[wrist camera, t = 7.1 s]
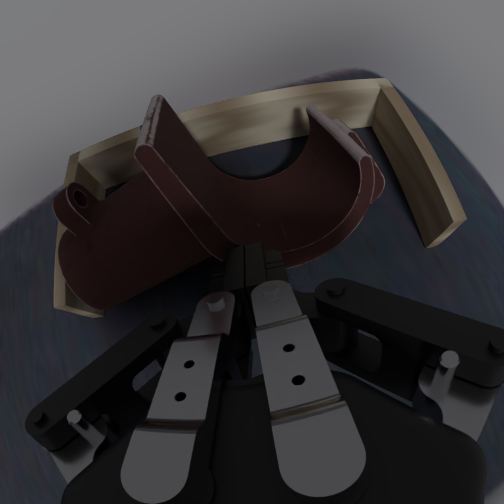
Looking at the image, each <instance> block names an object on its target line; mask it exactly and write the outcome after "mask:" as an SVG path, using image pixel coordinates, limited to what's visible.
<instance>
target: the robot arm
mask: <svg viewBox="0 0 504 504" xmlns="http://www.w3.org/2000/svg"><path fill="white" fill-rule="evenodd" d="M358 329H360V330H362V331H365V332H367V333H370V334H372V335H374V336H376V337H377V338H378V339H379V340H380V341H377V340H375V339H373V338H370V337H368V336H365V335H363V334H361V333H358ZM255 338H257V341H258V347H259V352H260V358H261V363H262V369H263V374H262V375H259V376H256V377H254V378H252V362H253V352H252V349H251V339H255ZM155 359H156V360H157V361H158V363H159V365H160V366H161V368H162V370H161V371H160V372H158V373H157V374H156V375H155V376H154V377H153V378H152V379H150V380H149V381H148V382H147V383H146V384H145V385H143V386H142V387H141V388H140V389H139V390H138V391H135V390H134V389H133V387H132V381H133V379H134V377H135V376H136V375H137V374H138V373H139V372H140V371H142V370H143V369H144V368H145V367H146V366H148V365H149V364H150V363H151V362H152V361H153V360H155ZM325 359H326V360H328V361H329V362H331V363H333V364H335V365H337V366H339V367H341V368H343V369H345V370H347V371H349V372H351V373H353V374H355V375H357V376H359V377H361V378H363V379H365V380H367V381H369V382H371V383H373V384H375V385H377V386H379V387H381V388H383V389H385V390H387V391H390V392H392V393H394V394H396V395H398V396H400V397H402V398H404V399H407V400H409V401H411V402H412V406H413V408H412V407H410V406H408V405H406V404H404V403H402V402H400V401H398V400H396V399H395V398H393V397H391V396H389V395H387V394H385V393H383V392H381V391H379V390H377V389H376V388H374V387H372V386H370V385H368V384H366V383H365V382H363V381H361V380H359V379H357V378H355V377H353V376H351V375H348V374H346V373H342V372H338V371H332V370H330V369H329V367H328V364H327V362H326V360H325ZM503 384H504V329H501V328H498V327H495V326H492V325H489V324H486V323H482V322H479V321H476V320H473V319H470V318H467V317H464V316H461V315H458V314H454V313H451V312H448V311H445V310H442V309H439V308H436V307H433V306H429V305H426V304H423V303H420V302H417V301H414V300H411V299H408V298H404V297H401V296H398V295H395V294H392V293H389V292H386V291H382V290H379V289H376V288H373V287H370V286H367V285H364V284H360V283H357V282H354V281H351V280H348V279H343V278H334V279H329V280H326V281H324V282H322V283H320V284H319V285H318V286H317V287H316V289H315V293H303V292H298V291H296V290H294V289H292V288H291V286H290V284H289V281H288V277H287V273H286V270H285V266H284V262H283V258H282V255H281V253H279V252H278V251H276V250H271V251H266V252H264V251H263V246H262V243H261V242H257V243H252V244H248V245H245V247H244V246H239V247H235V248H230V249H228V251H227V260H225V261H221V262H218V263H217V264H216V265H215V267H214V268H213V270H212V276H211V282H210V287H209V292H208V295H207V296H205V297H204V298H202V299H201V300H200V301H199V303H198V305H197V307H196V310H195V313H194V315H192V316H190V317H187V318H185V319H182V320H180V321H178V320H177V318H176V316H175V315H174V314H173V313H170V312H163V313H159V314H156V315H153V316H152V317H150V318H148V319H147V320H146V321H144V322H143V323H142V324H141V325H139V326H138V327H137V328H135V329H134V330H133V331H132V332H130V333H129V334H128V335H126V336H125V337H124V338H122V339H121V340H120V341H119V342H117V343H116V344H115V345H113V346H112V347H111V348H110V349H108V350H107V351H106V352H104V353H103V354H102V355H101V356H99V357H98V358H97V359H95V360H94V361H93V362H92V363H90V364H89V365H88V366H87V367H85V368H84V369H83V370H81V371H80V372H79V373H78V374H76V375H75V376H74V377H72V378H71V379H70V380H69V381H67V382H66V383H65V384H64V385H62V386H61V387H60V388H59V389H57V390H56V391H55V392H53V393H52V394H51V395H50V396H48V397H47V398H46V399H45V400H43V401H42V402H41V403H40V404H38V405H37V406H36V407H35V408H33V409H32V410H31V412H30V413H29V414H28V416H27V418H26V422H25V428H26V431H27V432H28V433H29V434H30V435H31V436H32V437H33V438H34V439H35V440H36V441H37V442H38V443H40V444H41V445H42V446H43V448H44V449H45V450H46V451H48V452H49V453H50V454H51V455H52V457H53V459H54V460H55V462H56V464H57V466H58V468H59V469H60V471H61V473H62V474H63V476H64V478H65V479H66V481H67V483H68V485H67V487H66V488H65V490H64V493H63V496H62V500H61V504H484V497H485V489H486V484H487V476H488V467H487V461H486V457H485V455H484V452H483V450H482V449H481V447H480V446H479V444H478V443H477V442H476V441H477V439H478V437H479V435H480V433H481V430H482V428H483V426H484V424H485V421H486V419H487V417H488V414H489V412H490V409H491V407H492V404H493V401H494V400H495V398H496V396H497V395H498V393H499V391H500V389H501V388H502V386H503Z"/></svg>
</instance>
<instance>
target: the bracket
mask: <svg viewBox="0 0 504 504" xmlns="http://www.w3.org/2000/svg"><path fill="white" fill-rule="evenodd" d="M306 112H307V115H308V119H309V136H308V140H307V143H306V146H305V148H304V150H303V152H302V153H301V155H300V156H299V157H298V159H297V160H296V161H295V162H294V163H293V164H292V165H291V166H289V167H288V168H287V169H285V170H284V171H282V172H280V173H278V174H276V175H274V176H271V177H268V178H264V179H259V180H242V179H237V178H234V177H231V176H228V175H226V174H224V173H223V172H221V171H220V170H218V169H217V168H216V167H215V166H214V165H213V164H212V163H211V161H210V160H209V159H208V157H207V156H206V155H205V153H204V152H203V150H202V149H201V148H200V146H199V145H198V143H197V142H196V141H195V139H194V138H193V137H192V135H191V134H190V132H189V131H188V130H187V128H186V127H185V126H184V124H183V123H182V121H181V120H180V119H179V117H178V116H177V115H176V113H175V112H174V111H173V109H172V108H171V106H170V105H169V104H168V102H167V101H166V100H165V98H164V97H163V96H161V95H155V96H154V97H152V99H151V102H150V105H149V107H148V110H147V113H146V116H145V119H144V122H143V125H141V126H140V127H139V138H138V141H137V144H136V147H135V151H134V157H135V159H136V160H137V162H138V163H139V164H140V166H141V167H142V168H143V171H142V172H141V173H139V174H138V175H136V176H135V177H134V178H132V179H131V180H129V181H128V182H127V183H125V184H124V185H122V186H121V187H120V188H118V189H117V190H116V191H114V192H113V193H112V194H110V195H109V196H108V197H106V198H105V199H104V200H102V201H99V200H98V199H96V198H95V197H94V196H93V195H92V194H91V193H90V192H89V191H88V190H87V189H86V188H85V187H84V186H83V185H81V184H80V183H77V182H71V183H70V184H69V185H68V186H66V187H65V188H64V189H63V190H62V191H61V192H60V193H59V194H58V195H57V196H56V197H55V198H54V200H53V204H52V207H53V212H54V214H55V216H56V218H57V219H58V221H59V222H60V223H61V224H62V225H64V226H65V227H66V228H67V230H66V231H65V232H64V233H63V235H62V236H61V238H60V241H59V245H58V261H59V266H60V269H61V272H62V275H63V277H64V279H65V281H66V283H67V284H68V286H69V288H70V289H71V290H72V292H73V293H74V294H75V295H76V296H77V297H78V298H79V299H80V300H81V301H82V302H84V303H85V304H87V305H88V306H90V307H92V308H95V309H99V310H109V309H112V308H114V307H116V306H118V305H119V304H121V303H123V302H125V301H127V300H129V299H131V298H133V297H134V296H136V295H138V294H140V293H142V292H144V291H146V290H148V289H150V288H151V287H153V286H155V285H157V284H159V283H161V282H163V281H165V280H167V279H169V278H171V277H172V276H174V275H176V274H178V273H180V272H182V271H184V270H186V269H188V268H190V267H192V266H194V265H196V264H197V263H199V262H201V261H203V260H205V259H207V258H209V257H211V256H214V257H216V258H217V259H219V260H220V261H225V260H227V251H228V249H230V248H235V247H239V246H244V247H245V245H248V244H252V243H257V242H261V243H262V246H263V251H264V252H266V251H271V250H276V251H278V252H279V253H281V255H282V258H283V262H284V266H285V269H288V268H292V267H296V266H299V265H302V264H305V263H308V262H310V261H312V260H315V259H317V258H319V257H321V256H322V255H324V254H326V253H327V252H329V251H331V250H332V249H334V248H335V247H336V246H338V245H339V244H340V243H341V242H342V241H344V240H345V239H346V238H347V237H348V236H349V235H350V234H351V233H352V232H353V231H354V229H355V228H356V227H357V226H358V224H359V223H360V221H361V220H362V218H363V217H364V215H365V213H366V211H367V209H368V207H369V205H370V204H371V203H372V202H374V201H375V200H376V199H377V198H378V197H379V196H380V195H381V193H382V191H383V189H384V185H385V179H384V177H383V175H382V173H381V171H380V170H379V168H378V166H377V165H376V163H375V162H374V160H373V158H372V157H371V155H370V154H369V152H368V151H367V149H366V148H365V146H364V145H363V143H362V141H361V140H360V139H359V137H358V136H357V134H356V133H355V132H354V131H353V130H352V129H350V128H349V127H348V126H347V125H346V124H345V123H344V122H342V121H341V120H340V119H333V120H331V119H330V118H328V117H327V116H326V115H325V114H324V113H323V112H322V111H320V110H319V109H318V108H317V107H316V106H314V105H313V104H309V105H307V107H306Z"/></svg>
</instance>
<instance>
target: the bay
mask: <svg viewBox="0 0 504 504" xmlns="http://www.w3.org/2000/svg"><path fill="white" fill-rule="evenodd" d="M309 104H313V105H314V106H316V107H317V108H318V109H319V110H320V111H322V112H323V113H324V114H325V115H326V116H327V117H328V118H330V119H331V120H333V119H340V120H341V121H342V122H344V123H345V124H346V125H347V126H348V127H349V128H350V129H352V128H360V127H369V126H372V128H373V130H374V132H375V134H376V136H377V138H378V139H379V141H380V143H381V145H382V147H383V149H384V151H385V153H386V155H387V157H388V159H389V161H390V163H391V165H392V167H393V170H394V172H395V174H396V176H397V178H398V180H399V183H400V185H401V187H402V189H403V192H404V194H405V196H406V199H407V201H408V203H409V206H410V208H411V211H412V213H413V216H414V218H415V221H416V224H417V226H418V229H419V232H420V234H421V237H422V240H423V243H424V246H425V249H426V248H430V247H433V246H437V245H439V244H440V243H441V242H442V241H443V240H444V239H445V238H447V237H448V236H449V235H450V234H451V233H452V232H453V231H454V230H455V229H457V228H458V227H459V226H460V225H461V224H462V223H463V222H464V221H465V220H466V219H467V218H466V215H465V213H464V211H463V208H462V206H461V204H460V201H459V199H458V197H457V195H456V193H455V190H454V188H453V186H452V184H451V182H450V180H449V178H448V176H447V174H446V172H445V170H444V168H443V166H442V164H441V162H440V160H439V159H438V157H437V155H436V153H435V151H434V150H433V148H432V146H431V144H430V143H429V141H428V139H427V137H426V136H425V134H424V132H423V131H422V129H421V127H420V126H419V124H418V123H417V121H416V120H415V118H414V116H413V115H412V113H411V112H410V110H409V109H408V107H407V106H406V104H405V103H404V101H403V100H402V99H401V97H400V96H399V94H398V93H397V91H396V90H395V89H394V87H393V86H392V85H391V83H390V82H389V81H388V79H387V78H380V79H360V80H347V81H336V82H326V83H317V84H310V85H302V86H296V87H289V88H283V89H277V90H272V91H266V92H261V93H256V94H251V95H247V96H242V97H238V98H233V99H229V100H225V101H221V102H217V103H213V104H209V105H206V106H202V107H199V108H195V109H191V110H188V111H184V112H181V113H178V114H176V115H177V116H178V117H179V119H180V120H181V121H182V123H183V124H184V126H185V127H186V128H187V130H188V131H189V132H190V134H191V135H192V137H193V138H194V139H195V141H196V142H197V143H198V145H199V146H200V148H201V149H202V150H203V152H204V153H205V155H206V156H207V157H209V156H213V155H217V154H221V153H225V152H229V151H233V150H238V149H242V148H246V147H251V146H255V145H260V144H264V143H269V142H274V141H279V140H284V139H290V138H295V137H300V136H306V135H309V119H308V115H307V112H306V107H307V105H309ZM139 127H140V126H139ZM139 127H137V128H134V129H131V130H129V131H126V132H124V133H121V134H119V135H116V136H113V137H111V138H109V139H106V140H104V141H102V142H99V143H97V144H95V145H92V146H90V147H88V148H86V149H83V150H81V151H79V152H77V153H75V154H73V155H71V156H70V158H69V163H68V167H67V172H66V177H65V182H64V188H65V187H66V186H68V185H69V184H70V183H71V182H77V183H80V184H81V185H83V186H84V187H85V188H86V189H87V190H88V191H89V192H90V193H91V194H92V195H93V196H94V197H95V198H96V199H98V200H99V201H102V200H104V199H105V192H106V189H107V188H110V187H112V186H115V185H118V184H121V183H124V182H127V181H129V180H131V179H132V178H134V177H135V176H136V175H138V174H139V173H141V172H142V171H143V168H142V167H141V166H140V164H139V163H138V162H137V160H136V159H135V157H134V151H135V147H136V144H137V141H138V138H139ZM64 188H63V189H64ZM66 230H67V228H66V227H65V226H64V225H62V224H61V223H60V222H58V231H57V241H56V254H55V271H54V308H57V309H61V310H65V311H68V312H72V313H76V314H79V315H83V316H87V317H91V318H96V317H103V316H104V310H99V309H95V308H92V307H90V306H88V305H87V304H85V303H84V302H82V301H81V300H80V299H79V298H78V297H77V296H76V295H75V294H74V293H73V292H72V290H71V289H70V288H69V286H68V284H67V283H66V281H65V279H64V277H63V275H62V272H61V269H60V266H59V261H58V245H59V241H60V238H61V236H62V235H63V233H64V232H65V231H66Z"/></svg>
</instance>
